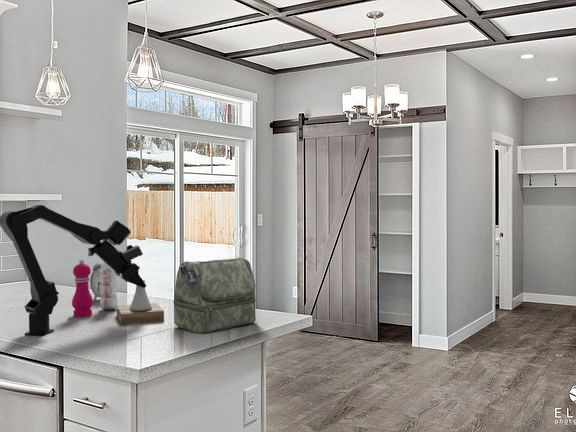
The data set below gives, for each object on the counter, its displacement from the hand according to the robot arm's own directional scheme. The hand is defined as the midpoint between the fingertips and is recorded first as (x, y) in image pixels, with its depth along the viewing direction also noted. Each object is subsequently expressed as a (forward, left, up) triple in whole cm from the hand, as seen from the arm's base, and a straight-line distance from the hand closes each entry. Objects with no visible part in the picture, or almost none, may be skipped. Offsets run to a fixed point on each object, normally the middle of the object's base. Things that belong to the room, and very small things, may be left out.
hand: (144, 286), depth 211 cm
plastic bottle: (+16, +20, -12) cm, 28 cm away
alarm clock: (+37, +31, -12) cm, 50 cm away
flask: (-1, +1, -8) cm, 8 cm away
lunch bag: (-8, -27, -12) cm, 30 cm away
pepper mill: (+5, +25, -12) cm, 28 cm away
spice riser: (+1, +2, -11) cm, 12 cm away
